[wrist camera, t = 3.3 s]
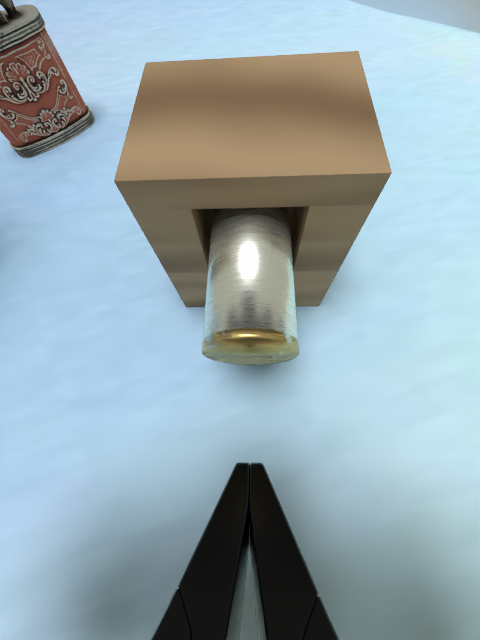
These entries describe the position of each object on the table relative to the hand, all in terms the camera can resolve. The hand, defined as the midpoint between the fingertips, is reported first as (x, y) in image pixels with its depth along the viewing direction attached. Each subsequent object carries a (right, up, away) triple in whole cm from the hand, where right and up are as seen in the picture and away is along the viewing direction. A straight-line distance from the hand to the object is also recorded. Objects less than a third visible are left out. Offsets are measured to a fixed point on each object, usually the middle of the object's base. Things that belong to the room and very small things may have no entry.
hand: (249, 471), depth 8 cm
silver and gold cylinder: (0, +7, +5) cm, 9 cm away
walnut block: (+1, +9, +11) cm, 14 cm away
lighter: (-18, +23, +18) cm, 34 cm away
